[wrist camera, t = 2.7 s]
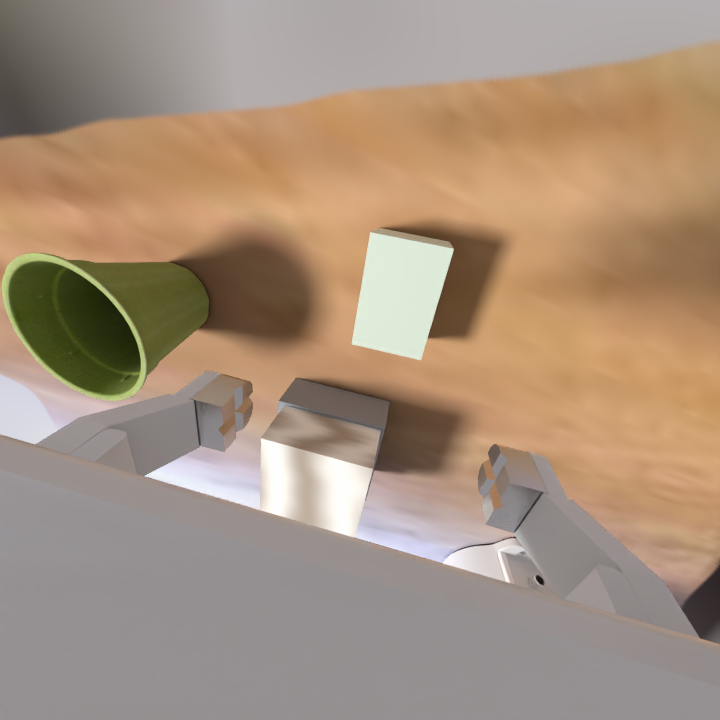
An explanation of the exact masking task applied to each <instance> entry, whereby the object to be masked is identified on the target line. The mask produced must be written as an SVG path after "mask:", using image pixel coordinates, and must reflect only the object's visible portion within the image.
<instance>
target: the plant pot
mask: <svg viewBox="0 0 720 720" xmlns="http://www.w3.org/2000/svg"><path fill="white" fill-rule="evenodd" d="M2 293H3V301H4V306H5V309H6V312H7V314H8V317H9V319H10V321H11V324H12V326H13V328H14V330H15V332H16V333H17V335H18V337H19V338H20V340H21V341H22V343H23V344H24V345H25V346H26V347H27V349H28V350H29V352H30V353H31V354H32V356H33V357H34V358H35V359H36V360H37V361H38V362H39V363H40V364H41V365H42V366H43V367H44V368H45V369H46V370H47V371H48V372H50V373H51V374H52V375H53V376H55V377H56V378H57V379H59V380H60V381H62V382H63V383H65V384H66V385H67V386H69V387H71V388H72V389H74V390H76V391H79V392H80V393H83V394H85V395H87V396H90V397H93V398H96V399H100V400H110V401H118V400H124V399H127V398H129V397H131V396H133V395H135V394H136V393H137V392H138V391H139V390H140V389H141V387H142V386H143V385H144V383H145V380H146V377H147V375H148V374H149V373H150V372H151V371H153V370H154V369H155V367H156V366H157V365H158V363H159V362H160V361H161V360H162V359H163V358H164V357H165V356H166V355H168V354H169V353H170V352H171V351H172V350H173V349H175V348H176V347H177V346H178V345H179V344H181V343H182V342H183V341H184V340H185V339H186V338H187V337H189V336H190V335H191V334H192V333H193V332H194V331H196V330H197V329H198V328H199V327H200V326H201V325H203V324H204V322H205V321H206V320H207V318H208V315H209V313H208V309H209V298H208V295H207V292H206V290H205V288H204V286H203V284H202V283H201V282H200V280H199V279H198V278H197V277H196V276H195V275H194V274H193V273H192V272H191V271H190V270H188V269H187V268H185V267H182V266H179V265H177V264H174V263H170V262H140V263H94V262H90V261H84V260H66V259H64V258H61V257H58V256H55V255H51V254H45V253H27V254H24V255H21V256H19V257H16V258H15V259H14V260H13V261H12V262H11V263H10V264H9V265H8V266H7V267H6V271H5V274H4V276H3V280H2Z"/></svg>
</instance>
